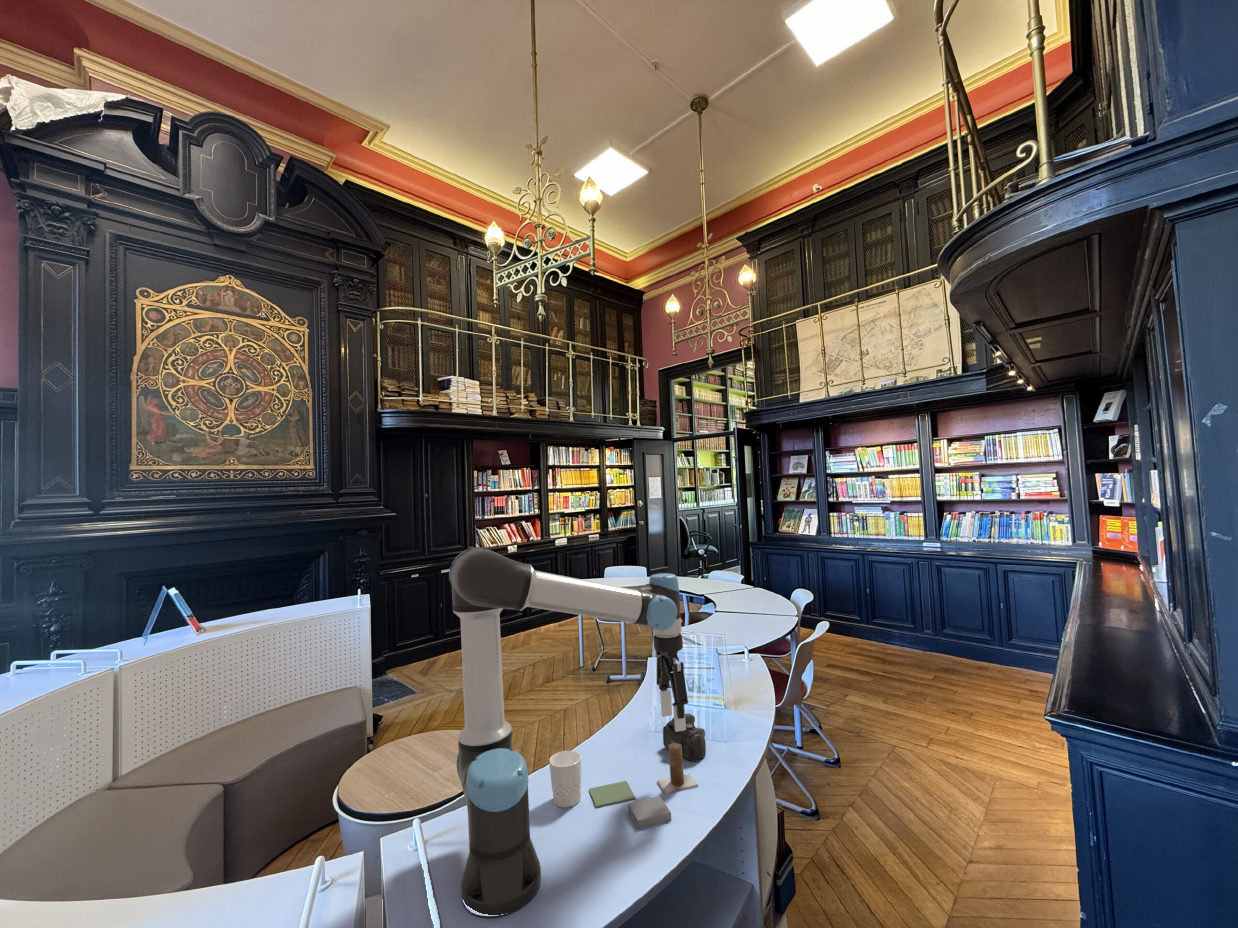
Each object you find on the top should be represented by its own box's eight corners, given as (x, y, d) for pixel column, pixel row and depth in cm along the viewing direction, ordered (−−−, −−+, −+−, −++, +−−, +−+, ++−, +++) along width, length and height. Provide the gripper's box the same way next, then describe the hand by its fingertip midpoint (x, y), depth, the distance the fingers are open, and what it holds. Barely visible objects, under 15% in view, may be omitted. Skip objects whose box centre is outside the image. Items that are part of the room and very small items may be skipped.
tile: (628, 812, 120) (638, 830, 114) (628, 803, 120) (638, 820, 114) (660, 805, 123) (671, 821, 116) (659, 795, 123) (670, 811, 116)
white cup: (589, 797, 127) (587, 756, 127) (565, 813, 121) (563, 769, 122) (568, 787, 132) (566, 747, 133) (544, 801, 126) (542, 760, 127)
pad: (596, 807, 122) (595, 806, 122) (589, 790, 130) (588, 788, 130) (635, 798, 125) (635, 797, 125) (626, 781, 133) (626, 780, 133)
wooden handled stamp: (665, 794, 126) (662, 754, 127) (657, 782, 132) (655, 744, 132) (698, 786, 129) (695, 747, 130) (689, 775, 134) (686, 738, 135)
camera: (713, 748, 148) (710, 713, 148) (698, 764, 139) (696, 727, 140) (673, 739, 155) (670, 705, 156) (656, 753, 147) (654, 718, 148)
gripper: (697, 642, 124) (704, 737, 122) (666, 623, 144) (671, 704, 143) (669, 646, 122) (675, 743, 120) (641, 626, 142) (646, 709, 141)
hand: (673, 722), depth 131 cm, fingers open, 9 cm apart
